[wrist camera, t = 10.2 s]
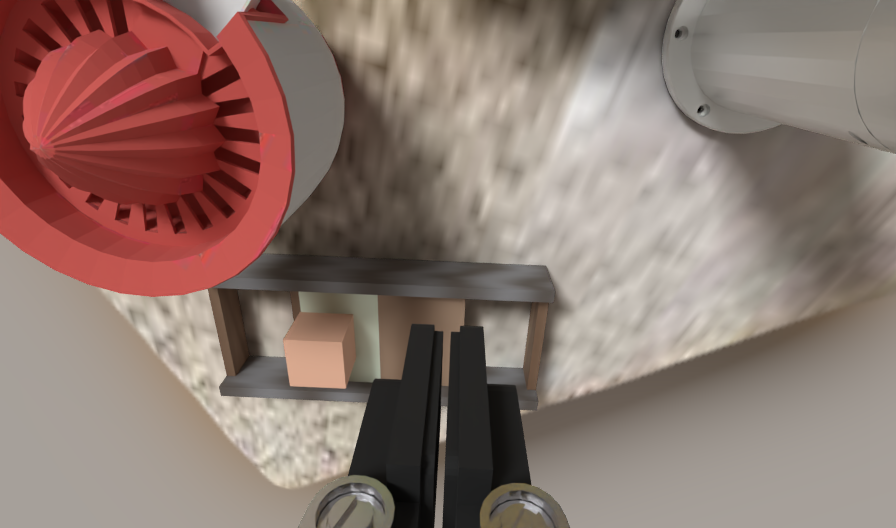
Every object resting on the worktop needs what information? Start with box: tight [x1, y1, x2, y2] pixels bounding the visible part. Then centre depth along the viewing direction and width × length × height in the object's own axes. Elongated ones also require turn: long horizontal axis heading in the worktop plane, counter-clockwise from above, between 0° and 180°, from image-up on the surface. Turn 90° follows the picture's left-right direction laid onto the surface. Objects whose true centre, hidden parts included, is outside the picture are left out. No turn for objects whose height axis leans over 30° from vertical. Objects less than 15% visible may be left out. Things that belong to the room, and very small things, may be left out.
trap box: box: [208, 254, 555, 410], centre depth 40 cm, size 28×12×4 cm, turn 88°
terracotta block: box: [283, 312, 356, 389], centre depth 38 cm, size 4×4×4 cm
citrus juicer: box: [0, 0, 345, 297], centre depth 25 cm, size 16×17×20 cm
